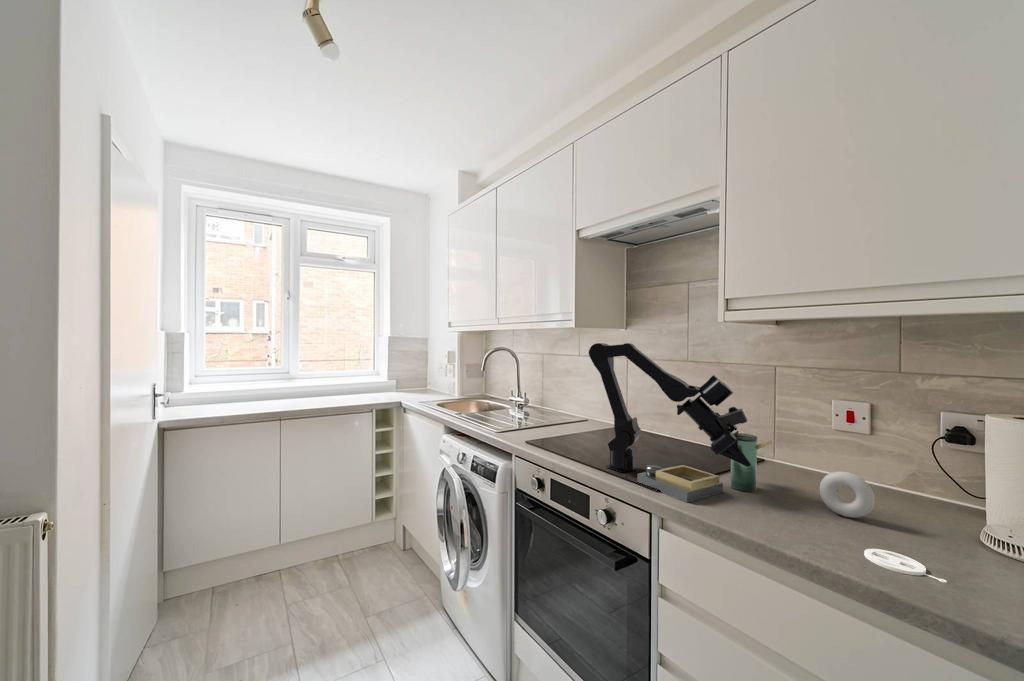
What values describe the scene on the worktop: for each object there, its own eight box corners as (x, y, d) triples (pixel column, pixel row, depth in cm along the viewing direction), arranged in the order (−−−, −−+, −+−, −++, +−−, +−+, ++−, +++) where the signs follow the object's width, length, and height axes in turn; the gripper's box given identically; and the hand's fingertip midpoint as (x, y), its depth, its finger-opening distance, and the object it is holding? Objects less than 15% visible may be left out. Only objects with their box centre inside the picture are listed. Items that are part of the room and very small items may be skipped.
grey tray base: (637, 482, 116) (637, 466, 116) (671, 475, 122) (671, 459, 122) (687, 502, 102) (687, 484, 102) (722, 492, 109) (722, 475, 109)
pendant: (873, 549, 80) (873, 545, 80) (954, 577, 71) (954, 572, 71) (856, 559, 76) (857, 554, 76) (940, 590, 67) (940, 585, 67)
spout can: (729, 489, 111) (730, 436, 111) (730, 482, 116) (731, 432, 116) (771, 496, 106) (773, 441, 106) (770, 489, 112) (771, 436, 112)
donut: (876, 522, 92) (877, 476, 92) (872, 526, 89) (873, 479, 89) (821, 507, 99) (822, 465, 99) (817, 511, 97) (817, 468, 97)
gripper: (725, 402, 106) (777, 452, 100) (728, 394, 122) (772, 436, 117) (691, 430, 110) (739, 479, 104) (699, 418, 126) (740, 460, 121)
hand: (749, 462), depth 111 cm, fingers closed on spout can, 6 cm apart
